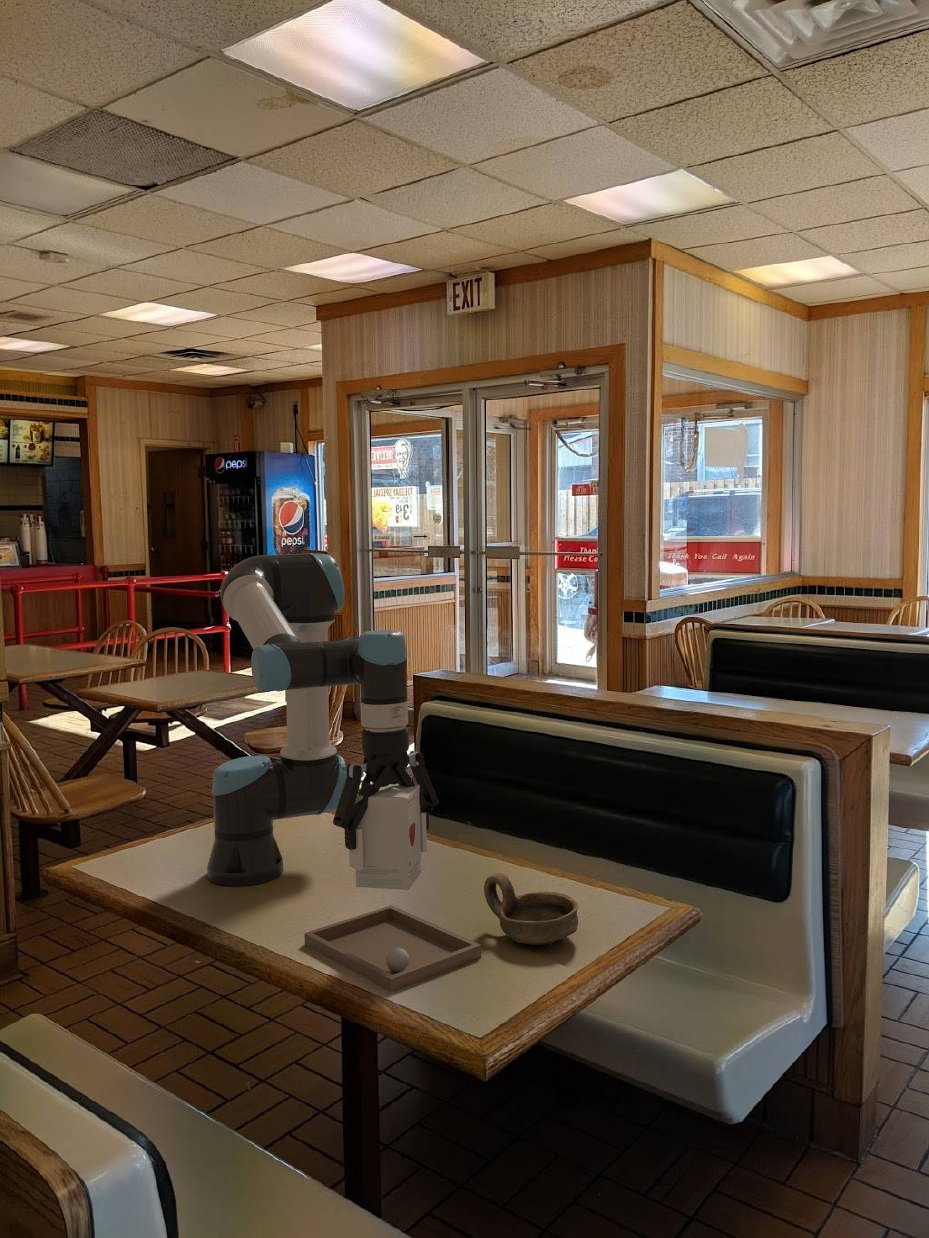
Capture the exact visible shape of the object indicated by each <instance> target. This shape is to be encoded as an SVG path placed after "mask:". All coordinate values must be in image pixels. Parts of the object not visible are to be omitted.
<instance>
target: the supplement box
mask: <svg viewBox="0 0 929 1238" xmlns="http://www.w3.org/2000/svg"><path fill="white" fill-rule="evenodd" d="M370 784H373V783H372V782H371V783H370ZM414 785H415V786H414V787H405V786H401V785H399V784H395V785H393V784H390V785H388V786H386V787H380V789H379V791H378V792H376V793H375V795H373V796H370V797H369V798H368V808H367V810H366V812H365V814H364V816H363V818H362V819H361V821H360V823H359V825H358V828H361V829H362V844H363V870H360V871H359V870H356V869H355V887H356V888H364V889H365V888H366V889H367V888H368V889H384V890H385V889H386V890H401V891H402V890H404V891H409V890H410V889H411V888H412V886H413V885H414V883H415V882H416V881H417V880H418V878H419V876H420V875H421V874H422V867H423V866H422V852H421V824H420V803H419V791H420V785H417V783H416V784H415V783H414ZM362 798H363V796H361V795H359V794H357V797H356V800H355V804H356V803H357V802H359V801H360V800H361V799H362Z"/></svg>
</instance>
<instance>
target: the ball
mask: <svg viewBox="0 0 929 1238" xmlns="http://www.w3.org/2000/svg"><path fill="white" fill-rule="evenodd" d="M386 964H387V966H388V968H389V969H390V970H392V971H394V972H401V971H403V970H404V969H406V967H407V966H408V964H409V956H408V953H407V952H406V951H405V950H404V949H402V948H393V949H392V950H390V951H389V952H388V954H387V956H386Z"/></svg>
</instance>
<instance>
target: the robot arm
mask: <svg viewBox="0 0 929 1238" xmlns="http://www.w3.org/2000/svg"><path fill="white" fill-rule="evenodd" d="M220 586H221V587H220V596H219V597H220V602H221V604H222V607H223V609H224V612H225V613H226V614H227V615H228V616H229V618H230V619H232V620H234V621H236V622H238V623H237V624H238V625H239V626H240V628H241V630H242V632H243V633H244V635H245V637H246V638H247V640H248V642H249V644H250V646H251V649H253V650H252V653H251V660H250V662H251V663H250V664H251V665H250V666H251V667H250V668H251V676H252V679H253V683H254V686H255V688H256V689H257V690H258V691H261V692H273V691H274V692H275V691H276V692H284V691H285V692H286V694H285V696H286V697H285V698H286V744H285V745H284V747H282V748H281V750H280V752H279V756H280V757H279V758H280V759H279V761H273V762H272V760H271V758H270V757H269V756H267V755H261V754H259V755H248V756H242V757H236V758H233V759H230V760H228V761H225V762H223V763H222V764H220V765H219V766H217V767H216V768H215V769H214V771H213V774H212V787H211V788H212V789H211V794H212V801H213V802H212V805H213V825H214V829H213V830H214V841H213V845H212V848H211V852H210V855H209V859H208V863H207V867H206V868H207V872H206V873H207V874H206V875H207V880H209V881H210V882H211V883H213V884H216V885H221V886H226V887H228V886H229V887H241V886H244V887H245V886H253V885H259V884H263V883H267V882H269V881H272V880H275V879H276V878H278V877H280V876H281V875H282V874H283V873H284V860H283V856H282V853H281V851H280V848H279V846H278V842H277V840H276V837H275V834H274V824H273V823H274V821H276V820H282V819H283V820H285V819H291V818H297V817H305V816H314V815H315V816H320V815H322V814H326V813H330V812H334V811H335V814H334V816H333V820H332V824H333V826H336V827H339V828H342V829H343V830H344V846H345V848H346V849H347V850H348V855H349V856H348V859H349V860H348V861H349V863H348V864H349V868H352V869H355V871H356V870H359V871H360V870H363V844H362V829H361V828H358V825H359V823H360V821H361V819H362V818H363V816H364V814H365V812H366V810H367V808H368V798H369V797H370V796H373V795H375V793H376V792H378V791H379V789H380V787H386V786H388V785H390V784H393V785H395V784H399V785H401V786H405V787H414V786H415V785H414V784H415V783H416V785H420V791H419V803H420V824H421V853H426V852H428V847H427V843H428V841H427V838H428V837H427V831H429V828H430V814H429V813H432V812H434V806H437V805H439V803H440V801H439V798H438V795H437V793H436V791H435V788H434V786H433V785H434V784H433V783H432V780H431V779H430V776H429V773H428V771H427V768H426V766H425V756H424V753H423V752H419V751H414V750H411V751H409V749H410V738H409V737H410V734H409V729H408V728H407V727H406V726H408V724H409V708H408V707H409V706H408V705H409V703H408V666H407V665H408V663H407V662H408V650H407V643H406V636H405V634H404V633H403V632H402V631H399V630H390V629H389V630H384V629H383V630H381V629H380V630H370V631H364V632H363V633H361V634H359V636H356V637H355V636H353V637H352V636H351V637H348V638H346V639H340V640H329V639H328V637H329V636H328V635H329V634H328V629H329V627H331V625H332V624H333V623H334V622H335V621H336V612H338V611H340V610H342V609H343V608H344V605H345V597H346V596H345V585H344V579H343V576H342V572H341V569H340V567H339V565H338V563H337V561H336V560H335V559H334V557H333V556H331V555H329V554H326V553H314V552H313V553H312V552H307V553H306V552H305V553H288V554H269V555H268V554H260V555H254V556H250V557H248V558H244V559H243V560H242V561H240V562H238V563H237V564H235V565H234V566H233V567H232V568H231V569H230V570H229V571H228V572H227V573H226V575H225V576H224V579H223V581H222V583H221V585H220ZM350 685H359V689H360V691H359V692H360V725H361V726H362V727H363V728H364V729H362V731H361V750H362V753H363V762H362V763H358V764H355V763H351V762H350V763H347V764H346V762H345V759H344V758H343V757H342V756H341V755H340V754H338V751H337V749H338V748H336V747H335V746H334V745H333V744H332V743H331V742H330V716H329V715H330V711H329V709H330V703H329V700H330V699H329V687H336V686H337V687H338V686H350ZM408 751H409V753H408ZM408 766H410V771H411V772H412V775H413V778H414V779H415V783H414V781H412V780H413V779H412V777H411V776H410V774H409V773H408V771H407V768H408ZM364 773H365V774H364ZM362 778H363V779H362ZM370 783H373V784H370ZM360 786H361V787H360ZM357 794H359V795H361V796H363V798H362V799H361V800H360V801H359V802H357V803H356V804H355V800H356V797H357Z"/></svg>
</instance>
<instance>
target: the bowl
mask: <svg viewBox="0 0 929 1238" xmlns="http://www.w3.org/2000/svg"><path fill="white" fill-rule="evenodd" d="M497 885H498V886H499V888H500V891H501V892H502V893H501V894H502V900H500V897H499V895H498V892H497ZM483 894H484V898H485V900H486V903H487V905H488V907H489V909H490V910H491V911H492V913H493V914H494V915H495V916H496V917H497V918H498V920H499V926H500V930H502V932H504V934H505V935H506V936H507V937H508V938H510V939H512V940H513V941H514V942H516V943H522V944H524V945H525V944H526V945H533V946H534V945H538V946H541V945H542V946H543V945H550V946H551V945H552V944H553V943H555V942H557V941H559V940H562V939H565V938H567V937H569V936H572V935H573V934H575V933H576V932H577V930H578V925H579V917H578V909H579V904H578V902H577V901H576V900H575V899H573V898H572V897H571V896H569V895H568V894H565V893H560V892H556V891H536V892H530V893H529V892H528V893H527V892H526V893H524V894H521V895H517V896H516V893H515V890H514V886H513V884H512V882H511V880H510V878H509V876H508V875H506V874H504V873H502V872H495V873H493V874H492V875H491V874H490V875H489V876H488V877H487V878H486V879H485V881H484V885H483Z"/></svg>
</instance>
